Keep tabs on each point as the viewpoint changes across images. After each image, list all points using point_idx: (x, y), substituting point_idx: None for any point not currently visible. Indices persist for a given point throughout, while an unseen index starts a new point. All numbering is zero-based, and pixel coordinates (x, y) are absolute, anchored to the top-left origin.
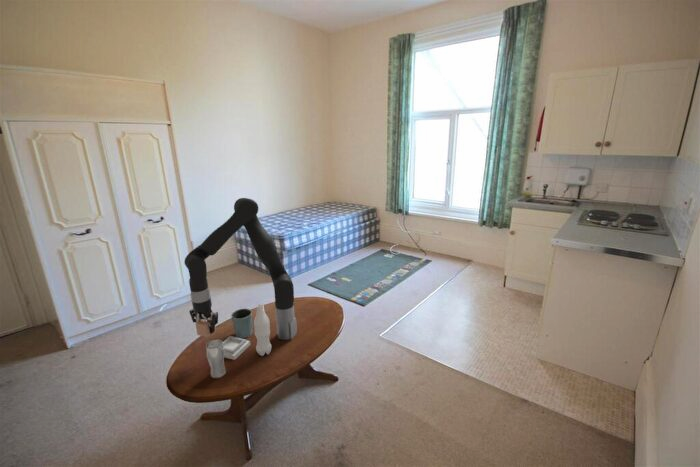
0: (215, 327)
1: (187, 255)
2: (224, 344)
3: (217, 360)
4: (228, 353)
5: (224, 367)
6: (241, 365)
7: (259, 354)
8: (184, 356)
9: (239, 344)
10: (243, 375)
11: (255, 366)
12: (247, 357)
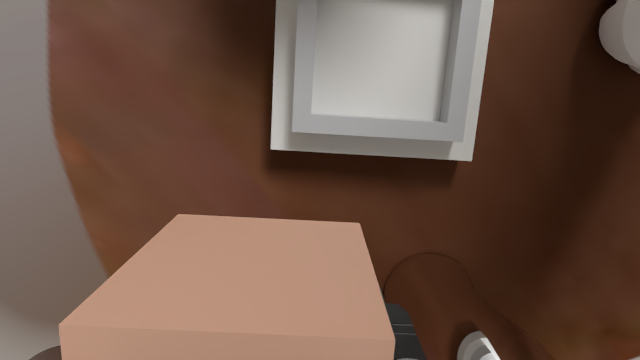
0: (364, 247)
1: None
2: (314, 58)
3: None
4: (408, 144)
5: (474, 289)
6: (534, 193)
7: (630, 68)
8: (84, 216)
9: (464, 44)
10: (590, 268)
11: (633, 177)
12: (537, 107)
